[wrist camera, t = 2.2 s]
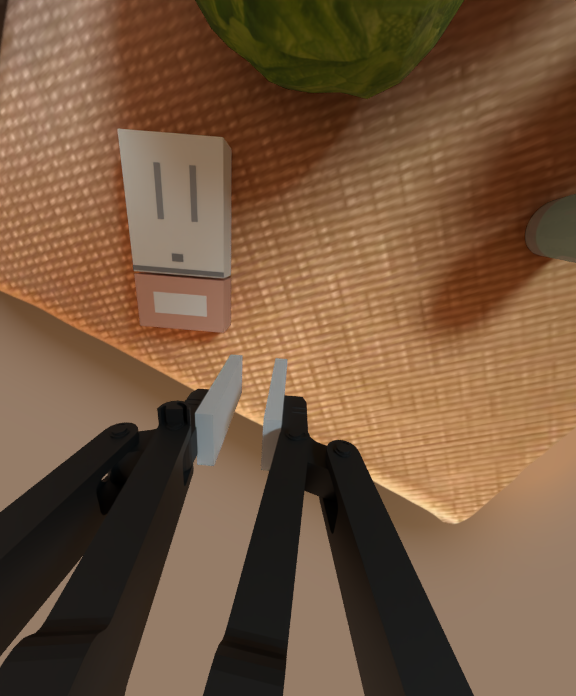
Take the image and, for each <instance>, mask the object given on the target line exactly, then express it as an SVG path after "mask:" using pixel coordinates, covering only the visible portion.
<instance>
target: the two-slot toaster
mask: <svg viewBox="0 0 576 696" xmlns="http://www.w3.org/2000/svg"><path fill="white" fill-rule="evenodd" d="M117 130H118V138H119V147H120V155H121V164H122V173H123V181H124V190H125V199H126V207H127V216H128V224H129V233H130V242H131V250H132V259H133V270H134V271H140V272H152V273H164V274H176V275H188V276H200V277H212V278H226V277H228V276H230V275H231V166H232V149H231V148H230V146H229V145H228V143H227V142H226V140H225V139H224V138H223V137H215V136H203V135H190V134H178V133H166V132H154V131H141V130H129V129H117Z"/></svg>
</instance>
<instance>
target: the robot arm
mask: <svg viewBox="0 0 576 696" xmlns="http://www.w3.org/2000/svg"><path fill="white" fill-rule="evenodd" d="M286 371H287V359H278V358H276V359H275V364H274V369H273V374H272V380H271V385H270V390H269V395H268V400H267V405H266V410H265V415H264V423H263V441H262V460H261V470H268V471H269V474H268V478H267V482H266V485H265V489H264V493H263V496H262V500H261V504H260V507H259V511H258V515H257V518H256V522H255V525H254V529H253V533H252V536H251V540H250V544H249V548H248V551H247V555H246V559H245V562H244V566H243V570H242V573H241V577H240V581H239V584H238V588H237V592H236V595H235V599H234V603H233V606H232V610H231V614H230V617H229V621H228V625H227V628H226V631H225V635H224V637H223V640H222V641H221V642H220V644H219V645H218V648H217V651H216V653H215V656H214V659H213V663H212V666H211V669H210V673H209V676H208V680H207V683H206V687H205V690H204V694H203V696H283V689H284V680H285V669H286V658H287V657H286V656H287V647H288V637H289V628H290V619H291V609H292V600H293V591H294V581H295V572H296V563H297V554H298V544H299V535H300V526H301V517H302V507H303V497H304V491H307V492H309V493H312V494H314V495H317V496H319V499H320V504H321V508H322V512H323V517H324V521H325V526H326V530H327V535H328V539H329V543H330V547H331V552H332V556H333V560H334V565H335V569H336V573H337V578H338V582H339V586H340V590H341V595H342V599H343V604H344V608H345V612H346V617H347V621H348V625H349V630H350V634H351V638H352V642H353V647H354V651H355V655H356V660H357V664H358V668H359V673H360V677H361V681H362V686H363V690H364V694H365V696H474V695H473V693H472V691H471V688H470V686H469V684H468V682H467V680H466V678H465V676H464V674H463V672H462V670H461V667H460V665H459V663H458V661H457V659H456V657H455V655H454V652H453V650H452V648H451V646H450V644H449V642H448V640H447V638H446V635H445V633H444V631H443V629H442V627H441V625H440V623H439V621H438V618H437V616H436V614H435V612H434V610H433V608H432V606H431V604H430V601H429V599H428V597H427V595H426V593H425V591H424V589H423V587H422V584H421V582H420V580H419V578H418V576H417V574H416V572H415V570H414V568H413V565H412V564H411V561H410V559H409V557H408V555H407V553H406V550H405V549H404V546H403V544H402V542H401V540H400V538H399V536H398V533H397V531H396V529H395V527H394V525H393V523H392V521H391V519H390V516H389V514H388V512H387V510H386V508H385V506H384V504H383V502H382V500H381V498H380V495H379V493H378V491H377V489H376V487H375V485H374V483H373V480H372V478H371V476H370V474H369V472H368V470H367V468H366V466H365V463H364V461H363V459H362V457H361V455H360V453H359V451H358V449H357V448H356V447H355V446H354V445H353V444H351V443H349V442H347V441H343V440H334V441H332V442H330V443H329V444H328V445H327V446H326V445H323V444H320V443H318V442H316V441H314V440H313V439H312V438H311V437H310V435H309V433H308V423H307V404H306V401H305V400H304V398H303V397H298V396H286V395H285V383H286ZM241 393H242V355H230V356H229V358H228V360H227V361H226V363H225V365H224V366H223V368H222V370H221V371H220V373H219V375H218V376H217V378H216V379H215V381H214V383H213V384H212V386H211V388H210V389H209V390H208V389H197V390H195V391H193V392H192V393H191V394H190V395H189V396H188V398H187V400H185V402H184V401H171V402H167V403H164V404H162V405H161V406H160V407H159V408H157V410H158V420H159V426H158V428H157V429H154V430H147V431H139V432H138V427H137V426H136V425H135V424H133V423H119V424H115V425H113V426H110V427H109V428H107V429H105V430H104V431H103V432H102V433H100V434H99V435H98V436H96V437H95V438H94V439H93V440H91V441H90V442H89V443H88V444H86V445H85V446H84V447H82V448H81V449H80V450H79V451H77V452H76V453H75V454H74V455H72V456H71V457H70V458H69V459H67V460H66V461H65V462H63V463H62V464H61V465H60V466H58V467H57V468H56V469H55V470H53V471H52V472H51V473H50V474H48V475H47V476H46V477H44V478H43V479H42V480H41V481H40V482H38V483H37V484H36V485H34V486H33V487H32V488H31V489H29V490H28V491H27V492H25V493H24V494H23V495H22V496H20V497H19V498H18V499H16V500H15V501H14V502H13V503H11V504H10V505H9V506H8V507H6V508H5V509H4V510H3V511H1V512H0V656H1V655H2V653H3V652H4V651H5V650H6V648H7V647H8V646H9V645H10V644H11V642H12V641H13V640H14V639H15V638H16V636H17V635H18V634H19V633H20V632H21V630H22V629H23V628H24V627H25V625H26V624H27V623H28V622H29V621H30V619H31V618H32V617H33V616H34V614H35V613H36V612H37V611H38V610H39V608H40V607H41V606H42V605H43V604H44V602H45V601H46V600H47V598H49V596H50V595H51V594H52V592H53V591H54V590H55V589H56V588H57V587H58V585H59V584H60V583H61V582H62V581H63V579H64V578H65V577H66V576H67V574H68V573H69V572H70V571H71V570H72V568H73V567H74V566H75V565H76V563H77V562H78V561H79V560H80V558H81V557H82V556H83V557H82V559H81V560H80V562H79V564H78V566H77V567H76V569H75V571H74V572H73V574H72V576H71V578H70V579H69V581H68V583H67V585H66V586H65V588H64V590H63V592H62V593H61V595H60V597H59V598H58V600H57V602H56V603H55V605H54V607H53V609H52V610H51V612H50V614H49V616H48V617H47V619H46V621H45V622H44V624H43V625H42V627H41V628H40V629H39V630H38V631H37V632H36V633H34V634H32V635H29V636H27V637H25V638H23V639H22V640H21V641H20V642H19V643H18V644H17V645H16V646H15V647H14V648H13V649H12V651H11V652H10V654H9V655H8V656H7V658H6V659H5V661H4V662H3V664H2V665H1V667H0V696H124V695H125V691H126V686H127V683H128V679H129V676H130V673H131V670H132V667H133V663H134V660H135V657H136V654H137V651H138V647H139V644H140V641H141V638H142V635H143V631H144V628H145V625H146V622H147V619H148V615H149V612H150V609H151V605H152V603H153V599H154V596H155V593H156V590H157V587H158V584H159V580H160V577H161V574H162V571H163V567H164V564H165V561H166V558H167V555H168V552H169V548H170V545H171V542H172V539H173V535H174V532H175V529H176V526H177V523H178V520H179V517H180V513H181V510H182V507H183V504H184V500H185V497H186V494H187V491H188V488H189V485H190V481H191V478H192V475H193V462H194V460H195V458H196V456H197V464H198V465H209V466H210V465H211V466H214V465H215V462H216V459H217V457H218V454H219V451H220V449H221V446H222V444H223V441H224V438H225V436H226V433H227V430H228V428H229V425H230V422H231V420H232V417H233V414H234V412H235V409H236V407H237V404H238V401H239V399H240V396H241ZM107 473H108V476H106V477H105V479H103V480H101V479H102V478H103V477H104V476H105V475H106V474H107Z"/></svg>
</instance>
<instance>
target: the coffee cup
mask: <svg viewBox="0 0 576 696" xmlns="http://www.w3.org/2000/svg"><path fill="white" fill-rule="evenodd" d="M525 240H526V244H527V246H528V248H529V249H530V250H531V251H532V252H533V253H535V254H537V255H540V256H545V257H550V258H555V259H560V260H565V261H570V262H575V263H576V194H573V195H570V196H567V197H563V198H560V199H557V200H554V201H551V202H549V203H547V204H545V205H543V206H542V207H541V208H540V209H538V210H537V211H536V212H535V214H534V215H533V216H532V218H531V219H530V221H529V223H528V225H527V228H526V233H525Z"/></svg>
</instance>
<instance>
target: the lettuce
mask: <svg viewBox="0 0 576 696" xmlns="http://www.w3.org/2000/svg"><path fill="white" fill-rule="evenodd" d="M195 1H196V2H197V4H198V6H199V8H200V9H201V11H202V13H203V15H204V16H205V18H206V20H207V22H208V23H209V25H210V27H211V28H212V29H213V31H214V32H215V33H216V34H217V35H218V36H219V37H220V38H221V39H222V40H223V41H224V42H225V43H226V44H227V46H228V47H230V48H231V49H232V50H234V51H235V52H237V53H238V54H239V55H241V56H242V57H243V58H245V59H246V60H247V61H248V62H249V63H250V64H251V65H252V66H254V67H255V68H256V69H257V70H258V71H259V72H260V73H261V74H262V75H263V76H264V77H265V78H266V79H267V80H268V81H270V82H272V83H274V84H277V85H279V86H281V87H284V88H286V89H291V90H297V91H303V92H310V93H331V92H342V93H346V94H350V95H354V96H358V97H362V98H366V99H368V98H370V97H372V96H374V95H376V94H378V93H380V92H382V91H385V90H387V89H389V88H391V87H393V86H395V85H397V84H399V83H400V82H401V81H402V80H403V79H404V78H405V77H406V76H407V75H408V74H409V73H410V72H411V71H412V70H413V69H414V68H415V67H416V66H417V65H418V63H419V62H420V61H421V60H422V59H423V58H424V57H425V56H426V55H427V54H428V53H429V52H430V51H431V49H432V48H433V47H434V46H435V45H436V43H437V42H438V40H439V39H440V37H441V36H442V34H443V33H444V31H445V30H446V28H447V26H448V25H449V23H450V22H451V20H452V19H453V17H454V15H455V14H456V12H457V11H458V9H459V7H460V6H461V4H462V3H463V1H464V0H195Z"/></svg>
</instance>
